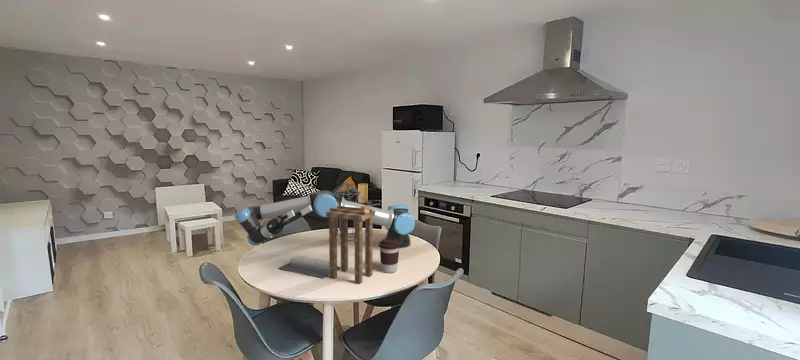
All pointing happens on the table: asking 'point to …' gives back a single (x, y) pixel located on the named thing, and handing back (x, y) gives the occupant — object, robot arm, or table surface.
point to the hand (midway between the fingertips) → (302, 210)
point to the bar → (311, 264)
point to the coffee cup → (389, 254)
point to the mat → (305, 271)
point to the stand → (346, 214)
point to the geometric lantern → (345, 199)
